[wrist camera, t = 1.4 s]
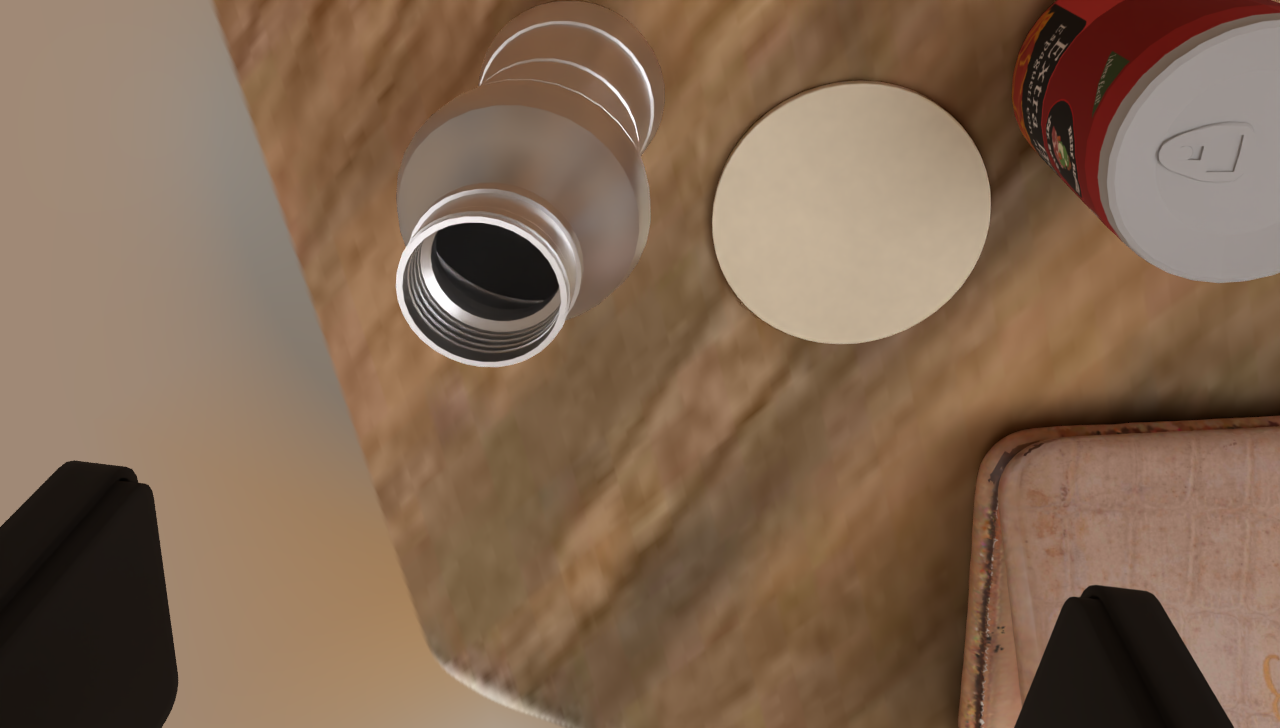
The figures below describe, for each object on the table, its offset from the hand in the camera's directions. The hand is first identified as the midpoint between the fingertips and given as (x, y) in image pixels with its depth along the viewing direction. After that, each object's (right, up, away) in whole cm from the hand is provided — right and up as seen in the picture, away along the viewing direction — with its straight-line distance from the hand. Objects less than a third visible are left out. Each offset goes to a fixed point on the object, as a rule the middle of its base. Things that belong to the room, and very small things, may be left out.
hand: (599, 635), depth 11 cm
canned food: (+18, +14, +28) cm, 36 cm away
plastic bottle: (-2, +14, +29) cm, 32 cm away
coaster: (+9, +9, +31) cm, 33 cm away
